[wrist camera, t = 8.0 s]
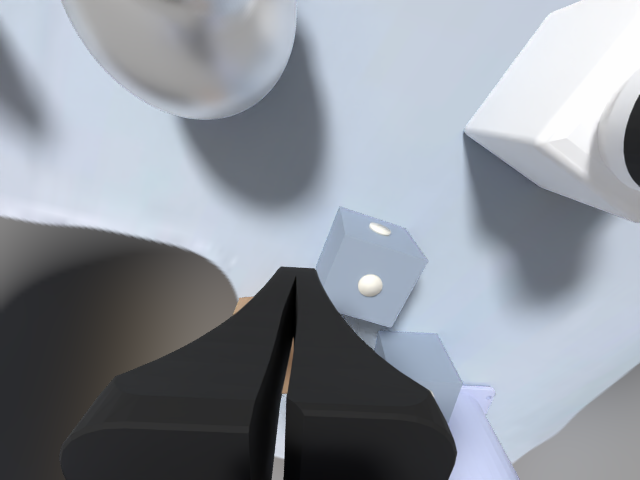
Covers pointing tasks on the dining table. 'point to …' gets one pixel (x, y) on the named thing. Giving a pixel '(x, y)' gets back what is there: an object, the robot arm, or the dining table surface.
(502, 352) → the dining table surface
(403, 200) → the dining table surface
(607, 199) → the medicine bottle
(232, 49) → the silver round ornament
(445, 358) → the dotted block
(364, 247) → the dotted block
